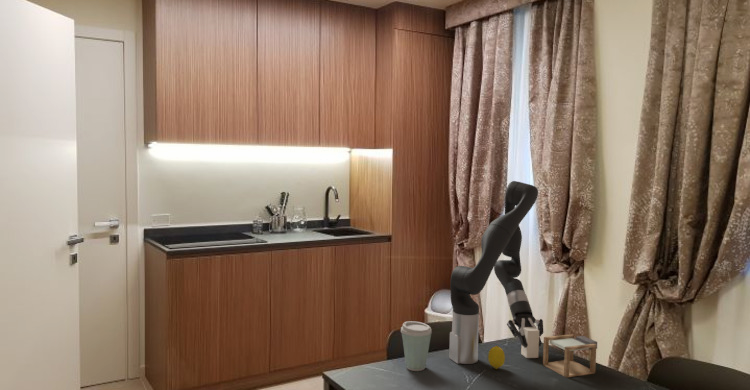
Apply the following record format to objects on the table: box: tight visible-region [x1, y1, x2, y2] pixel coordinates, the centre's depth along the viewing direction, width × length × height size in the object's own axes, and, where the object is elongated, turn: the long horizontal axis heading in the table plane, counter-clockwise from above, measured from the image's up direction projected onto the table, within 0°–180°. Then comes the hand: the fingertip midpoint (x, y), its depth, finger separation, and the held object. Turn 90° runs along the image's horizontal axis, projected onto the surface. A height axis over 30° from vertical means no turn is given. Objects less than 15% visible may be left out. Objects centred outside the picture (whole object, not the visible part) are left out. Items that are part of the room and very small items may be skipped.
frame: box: [542, 333, 597, 378], centre depth 183 cm, size 12×12×10 cm
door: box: [549, 335, 598, 352], centre depth 184 cm, size 13×9×2 cm
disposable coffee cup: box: [400, 320, 433, 372], centre depth 181 cm, size 11×11×15 cm
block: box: [520, 327, 540, 359], centre depth 195 cm, size 4×4×10 cm
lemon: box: [487, 345, 506, 370], centre depth 182 cm, size 6×6×8 cm
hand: (532, 346), depth 193 cm, fingers closed on block, 4 cm apart
